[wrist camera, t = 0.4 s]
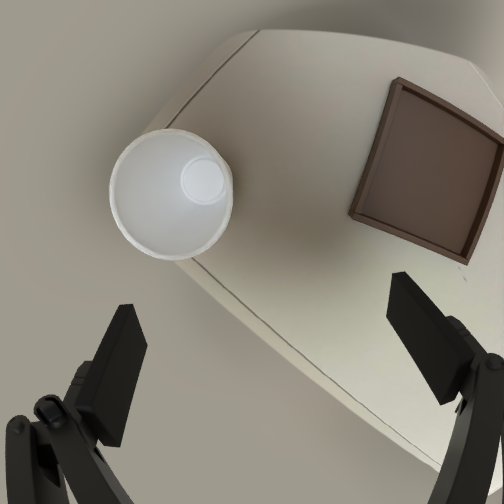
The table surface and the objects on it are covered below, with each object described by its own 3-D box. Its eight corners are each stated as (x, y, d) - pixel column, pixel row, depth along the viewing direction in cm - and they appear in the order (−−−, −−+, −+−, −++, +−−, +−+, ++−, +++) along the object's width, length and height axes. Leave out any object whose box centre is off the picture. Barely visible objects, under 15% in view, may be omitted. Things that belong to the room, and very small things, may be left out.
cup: (197, 115, 30) (154, 102, 20) (271, 173, 32) (262, 186, 21) (145, 188, 34) (89, 208, 23) (213, 244, 35) (181, 286, 24)
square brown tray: (392, 80, 27) (398, 76, 25) (500, 142, 26) (510, 142, 25) (348, 214, 32) (351, 219, 30) (459, 259, 32) (467, 266, 30)
